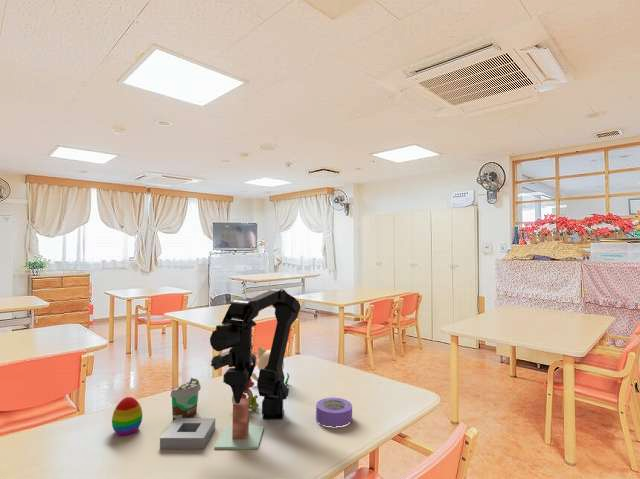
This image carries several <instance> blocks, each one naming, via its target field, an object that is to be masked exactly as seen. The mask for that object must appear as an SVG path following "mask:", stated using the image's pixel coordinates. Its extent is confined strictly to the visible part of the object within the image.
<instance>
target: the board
mask: <svg viewBox="0 0 640 479" xmlns="http://www.w3.org/2000/svg"><path fill="white" fill-rule="evenodd" d="M232 427H233V425H224V426H223V429H222V430H221V433H220V435H219V437H218V439H217V441H216V443H215V445H214V448H213V449H214V450H258V449H259V448H260V447H259V446H260V442H261V439H262V435H263V432H264V428H265V426H264V425H249V433H248V436H247V439H232Z"/></svg>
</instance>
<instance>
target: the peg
mask: <svg viewBox="0 0 640 479" xmlns="http://www.w3.org/2000/svg"><path fill="white" fill-rule="evenodd" d="M232 426H233V427H232V439H247V436H248V433H249V426H250V406H249V399H248V398H247V399H241V400H240V403H239V404H236V403H235V401H234V403H232Z"/></svg>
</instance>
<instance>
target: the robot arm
mask: <svg viewBox="0 0 640 479" xmlns="http://www.w3.org/2000/svg"><path fill="white" fill-rule="evenodd" d="M271 306H272V307H273V308H274V316H275V319H276V325H275V331H274V335H273V339H272V344H271V347H270V350H271V351H270V356H269V360H268V364H267V366H266V367H265V368H264V369H261V370H259V371H258V372H259V373H258V376H257V377H258V380H257V381H256V382H257V383H256V387H257V391H258V394H259V396H258V397H263V399H262V401H261V415H262V419H263V420H264V419H265V420H278V419H280V420H281V419H283V417H284V412H285V410H284V401H285V400H287V397H288V396H289V393H290V391H289V390H290V389H289V388H288V385H285V373H284V369H283V370H282V364H283V362H284V359H285V354H286V350H287V345H288V340H289V337H290V336H289V335H290V332H291V328H292V325H293V323H294V322H295V321H296V320H297V319H298V316H299V313H300V310H301V304H300V302H299V300H297V298H296V297H294V296H293V295H291V294H290V293H288V292H287V291H286V290H285V289H283V288H271V289H269V290H267V291H265V292H262V293H260V294H258V295H255V296H254V297H251V298H239V299H234V300H232V301H231V303H230V305H229V306H228V308H227V311H226V313H225V315H224V316H223V319H222V321H221V324H219V325H218V324H217V325H216V326H215V330H213V332H212V333H210V334H211V335H210V337H209V343H210V346H211V348H212V349H213V350H214V351H216V352H222V351H224V350H228V351H225V352H222V353H219V354H217V355H214V356H213V357H211V359H210V362H211V363H210V366H211V368H212V367H213V370H214V371H217V370H219V369H220V368H223V367H226V366H228V369H227V370H226V371H225V373H224V374H223V382H222V383H224V384H226V385H228V386H230V388H231V392H232V396H234V400H235V403H236V404H239V403H240V400H241V398H242V395H243V392H244V391H246V388H247V386H248V383H249V381H250V378H251V379H252V377H251V376H252V373H254V370H255V368H256V364H257V361H258V360H257V359H258V356H257V355H256V354H254V353H252V350H253V347H254V344H252V343H253V341H252V339H253V327H255V326H257V323H256V322H255V321H254V319H255V318H257V317H258V316H259V313H260V311H262V310H265V309H266V308H268V307H271Z"/></svg>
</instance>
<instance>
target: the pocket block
mask: <svg viewBox="0 0 640 479" xmlns="http://www.w3.org/2000/svg"><path fill="white" fill-rule="evenodd" d="M172 421H173V422H171V423H170V425H169V426H168V427H167V429H166V430H165V431H164V433H162V435H161V436H160V437H159V450H204V449H205V447H206V445H207V443H208V442H209V439H210V438H211V436H212V435H213V433H214V431H215V429H216V417H191V418H176V419H175V420H172Z"/></svg>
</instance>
